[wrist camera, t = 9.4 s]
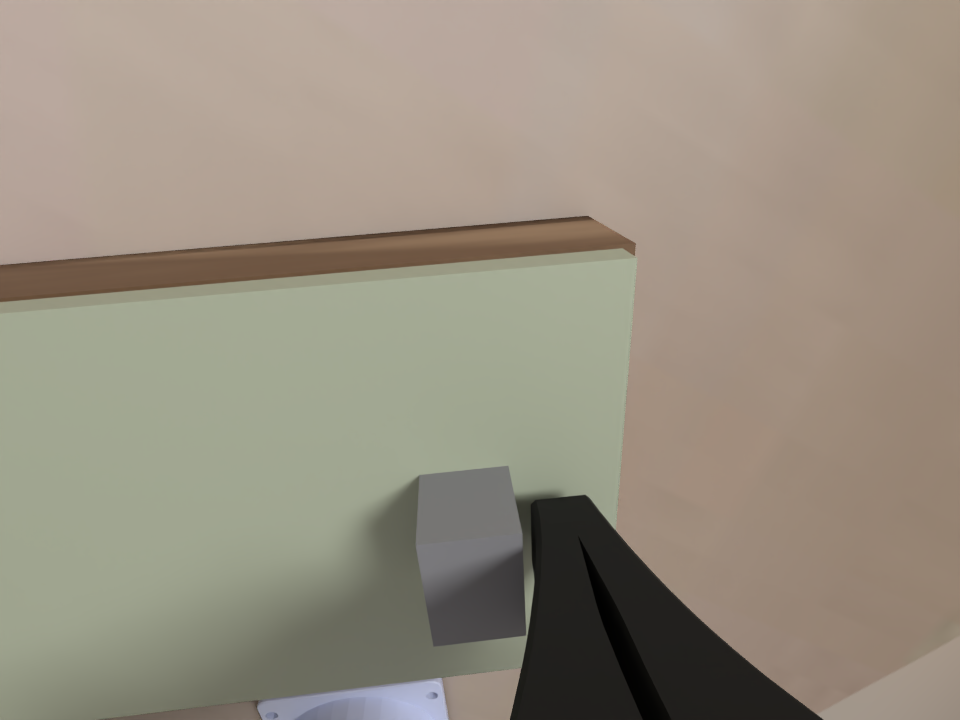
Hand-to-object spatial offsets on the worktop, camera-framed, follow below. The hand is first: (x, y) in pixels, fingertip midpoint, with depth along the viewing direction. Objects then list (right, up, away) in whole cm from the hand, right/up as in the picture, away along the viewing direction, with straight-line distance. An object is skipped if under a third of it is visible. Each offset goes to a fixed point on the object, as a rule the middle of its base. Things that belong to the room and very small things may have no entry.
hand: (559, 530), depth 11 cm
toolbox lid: (-7, +2, +4) cm, 9 cm away
